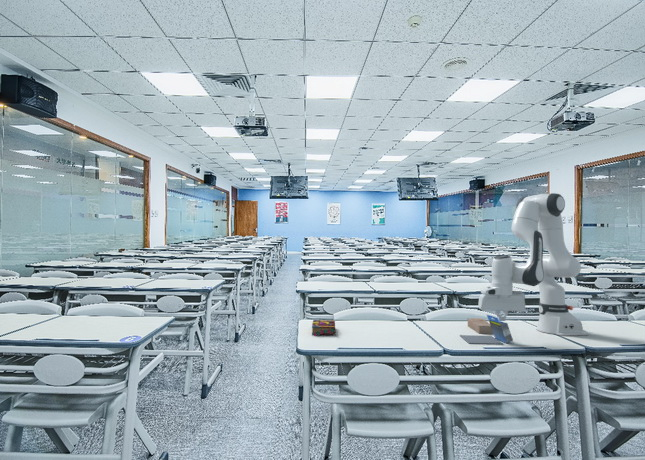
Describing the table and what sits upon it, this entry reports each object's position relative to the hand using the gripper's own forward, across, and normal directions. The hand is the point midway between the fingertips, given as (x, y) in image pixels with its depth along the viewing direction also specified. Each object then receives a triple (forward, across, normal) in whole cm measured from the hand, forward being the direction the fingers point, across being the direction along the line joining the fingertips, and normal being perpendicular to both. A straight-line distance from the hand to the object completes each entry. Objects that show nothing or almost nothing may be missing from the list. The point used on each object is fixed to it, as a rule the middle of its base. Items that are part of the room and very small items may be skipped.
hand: (501, 320), depth 171 cm
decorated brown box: (+11, +83, -11) cm, 84 cm away
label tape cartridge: (+9, -1, 0) cm, 9 cm away
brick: (+10, +1, -21) cm, 24 cm away
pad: (+10, +9, -1) cm, 13 cm away
